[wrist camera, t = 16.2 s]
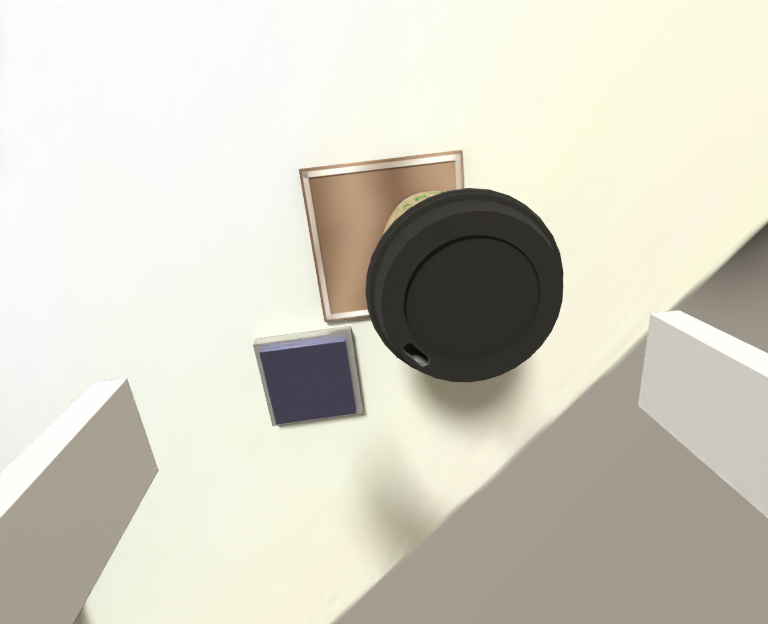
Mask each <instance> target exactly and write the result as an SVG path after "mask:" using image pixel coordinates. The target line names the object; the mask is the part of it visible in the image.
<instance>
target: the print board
mask: <svg viewBox="0 0 768 624" xmlns="http://www.w3.org/2000/svg"><path fill="white" fill-rule="evenodd" d="M299 173H300V179H301V185H302V191H303V197H304V203H305V208H306V214H307V220H308V226H309V232H310V238H311V244H312V250H313V256H314V262H315V268H316V273H317V279H318V285H319V291H320V297H321V303H322V309H323V315H324V321H325V322H329V321H336V320H344V319H352V318H359V317H367V316H370V315H369V313H368V309H367V302H366V295H365V289H366V274H367V270H368V267H369V263H370V260H371V256H372V254H373V252H374V250H375V248H376V246H377V244H378V242H379V240H380V238H381V237H382V236H383V233H384V230H385V227H386V224H387V222H388V220H389V218H390V216H391V215H392V213H393V212H394V210H395V209H396V208H397V206H398V205H399V204H400V203H401V202H403V201H404V200H405V199H407V198H408V197H410V196H412V195H415V194H418V193H422V192H428V191H450V190H458V189H464V178H463V152H462V150H459V151H450V152H442V153H433V154H424V155H416V156H407V157H399V158H390V159H382V160H373V161H365V162H356V163H347V164H339V165H330V166H322V167H313V168H305V169H299Z"/></svg>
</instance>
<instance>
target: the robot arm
mask: <svg viewBox="0 0 768 624" xmlns="http://www.w3.org/2000/svg"><path fill="white" fill-rule="evenodd" d="M638 406H639V407H640V408H642V409H643V410H644V411H645V412H646V413H648V415H650V416H651V417H652V418H653V419H655V421H657V422H658V423H659V424H660V425H661V426H662V427H663V428H665V429H666V430H667V431H668V432H669V433H670V434H671V435H673V436H674V437H675V438H676V439H677V440H678V441H679V442H681V443H682V444H683V445H684V446H685V447H686V448H688V449H689V450H690V451H691V452H692V453H693V454H694V455H696V456H697V457H698V458H699V459H700V460H701V461H702V462H704V463H705V464H706V465H707V466H708V467H710V468H711V469H712V470H713V471H714V472H715V473H716V474H717V475H719V476H720V477H721V478H722V479H723V480H724V481H726V482H727V483H728V484H729V485H730V486H731V487H732V488H734V489H735V490H736V491H737V492H738V493H739V494H740V495H742V496H743V497H744V498H745V499H746V500H747V501H749V502H750V503H751V504H752V505H753V506H754V507H756V508H757V509H758V510H759V511H760V512H761V513H762V514H764V515H765V516H766V517H767V518H768V353H766V352H764V351H762V350H759V349H758V348H755V347H753V346H751V345H749V344H747V343H745V342H743V341H741V340H739V339H737V338H735V337H733V336H730V335H729V334H727V333H725V332H722V331H720V330H718V329H716V328H714V327H712V326H710V325H708V324H706V323H704V322H702V321H700V320H698V319H696V318H694V317H692V316H689V315H687V314H685V313H683V312H681V311H671V312H663V313H654V314H651V315H650V323H649V330H648V337H647V345H646V352H645V360H644V366H643V374H642V381H641V388H640V395H639V403H638ZM157 472H158V468H157V465H156V462H155V459H154V456H153V453H152V450H151V447H150V444H149V441H148V438H147V435H146V433H145V430H144V427H143V424H142V421H141V418H140V415H139V412H138V409H137V406H136V403H135V400H134V397H133V394H132V392H131V389H130V386H129V383H128V380H127V379H119V380H111V381H103V382H95V383H93V384H92V385H91V386H90V387H89V388H88V389H87V390H86V391H85V392H84V393H83V394H82V395H81V396H80V397H79V398H78V399H77V400H76V401H75V402H74V403H73V404H72V405H71V406H69V407H68V408H67V409H66V410H65V411H64V412H63V413H62V414H61V415H60V416H59V417H58V418H57V419H56V420H55V421H54V422H53V423H52V424H51V425H50V426H49V427H48V428H47V429H46V430H45V431H44V432H43V433H42V434H41V435H40V436H39V437H38V438H36V439H35V440H34V441H33V442H32V443H31V444H30V445H29V446H28V447H27V448H26V449H25V450H24V451H23V452H22V453H21V454H20V455H19V456H18V457H17V458H16V459H15V460H14V461H13V462H12V463H11V464H10V465H9V466H8V467H7V468H6V469H4V470H3V471H2V472H1V473H0V624H73V623H74V622H75V620H76V618H77V616H78V614H79V613H80V611H81V609H82V607H83V605H84V604H85V602H86V600H87V598H88V596H89V595H90V593H91V591H92V589H93V587H94V586H95V584H96V582H97V580H98V578H99V577H100V575H101V573H102V571H103V569H104V568H105V566H106V564H107V562H108V560H109V559H110V557H111V555H112V553H113V551H114V550H115V548H116V546H117V544H118V542H119V541H120V539H121V537H122V535H123V533H124V532H125V530H126V528H127V526H128V524H129V523H130V521H131V519H132V517H133V515H134V514H135V512H136V510H137V508H138V506H139V505H140V503H141V501H142V499H143V497H144V496H145V494H146V492H147V490H148V488H149V487H150V485H151V483H152V481H153V479H154V478H155V476H156V474H157Z"/></svg>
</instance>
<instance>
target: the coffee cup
mask: <svg viewBox="0 0 768 624" xmlns="http://www.w3.org/2000/svg"><path fill="white" fill-rule="evenodd" d="M365 295H366V302H367V309H368V313H369V315H370V318H371V321H372V323H373V326H374V328H375V330H376V331H377V333H378V335H379V336H380V338H381V339H382V341H383V343H384V344H385V345H386V346H387V347H388V348H389V350H390V351H391V352H392V353H393V354H394V355H395V356H396V357H397V358H399V359H400V360H402V361H403V362H405V363H406V364H408V365H409V366H411V367H412V368H415V369H417V370H419V371H420V372H423V373H425V374H427V375H430V376H432V377H434V378H438V379H442V380H447V381H451V382H473V381H481V380H486V379H489V378H493V377H496V376H499V375H502V374H504V373H506V372H508V371H510V370H512V369H514V368H516V367H517V366H519V365H520V364H521V363H523V362H524V361H526V360H527V359H528V358H530V357H531V356H532V355H533V354H534V353H535V352H536V351H537V350H538V349H539V348H540V347H541V346H542V344H543V343H544V341H545V340H546V339H547V337H548V336H549V334H550V333H551V331H552V329H553V327H554V325H555V323H556V320H557V318H558V316H559V312H560V308H561V304H562V298H563V268H562V262H561V256H560V252H559V249H558V247H557V245H556V242H555V240H554V237H553V235H552V234H551V232H550V231H549V230H548V228H547V227H546V225H545V224H544V222H543V221H542V220H541V218H540V217H539V216H538V215H537V214H535V213H534V212H533V211H532V210H531V209H530V208H529V207H528V206H526V205H525V204H523V203H522V202H520V201H518V200H516V199H514V198H513V197H511V196H509V195H506V194H502V193H499V192H496V191H492V190H487V189H474V188H465V189H458V190H450V191H428V192H422V193H418V194H415V195H412V196H410V197H408V198H407V199H405V200H404V201H403V202H401V203H400V204H399V205H398V206H397V208H396V209H395V210H394V212H393V213H392V215H391V216H390V218H389V220H388V222H387V224H386V227H385V230H384V233H383V236H382V237H381V238H380V240H379V242H378V244H377V246H376V248H375V250H374V252H373V254H372V256H371V260H370V263H369V267H368V270H367V274H366V289H365ZM419 363H421V364H423V365H424V366H422V365H420V364H419Z"/></svg>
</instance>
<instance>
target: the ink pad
mask: <svg viewBox="0 0 768 624" xmlns="http://www.w3.org/2000/svg"><path fill="white" fill-rule="evenodd" d="M253 346H254V350H255V355H256V359H257V363H258V367H259V371H260V375H261V380H262V384H263V388H264V392H265V396H266V401H267V405H268V409H269V413H270V417H271V422H272V426H277V425H285V424H292V423H299V422H306V421H313V420H320V419H328V418H335V417H342V416H349V415H356V414H363V411H362V402H361V395H360V388H359V381H358V374H357V367H356V361H355V354H354V347H353V340H352V333H351V327H350V326H348V327H340V328H333V329H325V330H318V331H310V332H302V333H295V334H287V335H280V336H272V337H264V338H257V339H255V342H254V344H253Z"/></svg>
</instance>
